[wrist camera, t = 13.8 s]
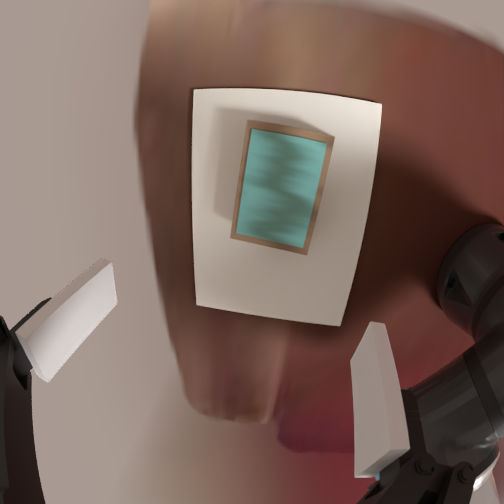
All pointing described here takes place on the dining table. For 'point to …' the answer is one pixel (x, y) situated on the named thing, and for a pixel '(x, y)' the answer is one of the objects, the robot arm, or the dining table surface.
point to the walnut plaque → (280, 185)
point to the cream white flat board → (328, 219)
